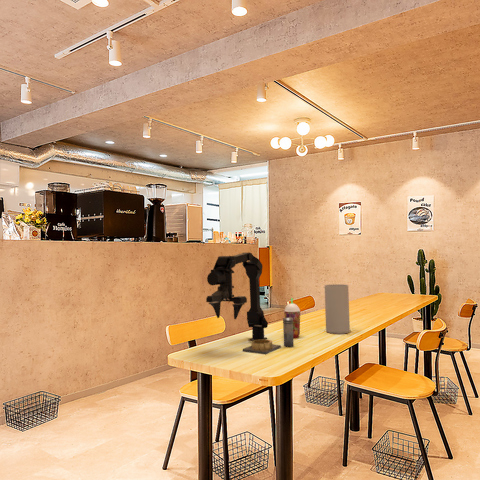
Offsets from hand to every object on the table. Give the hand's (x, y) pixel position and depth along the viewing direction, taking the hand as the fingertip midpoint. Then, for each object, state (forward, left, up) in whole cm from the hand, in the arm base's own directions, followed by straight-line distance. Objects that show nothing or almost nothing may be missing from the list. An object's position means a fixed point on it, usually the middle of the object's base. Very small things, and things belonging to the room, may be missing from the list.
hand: (226, 318), depth 183 cm
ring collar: (-11, +11, -15) cm, 22 cm away
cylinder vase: (-63, +28, -15) cm, 71 cm away
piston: (-22, +19, -15) cm, 33 cm away
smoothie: (-41, +12, -15) cm, 45 cm away
